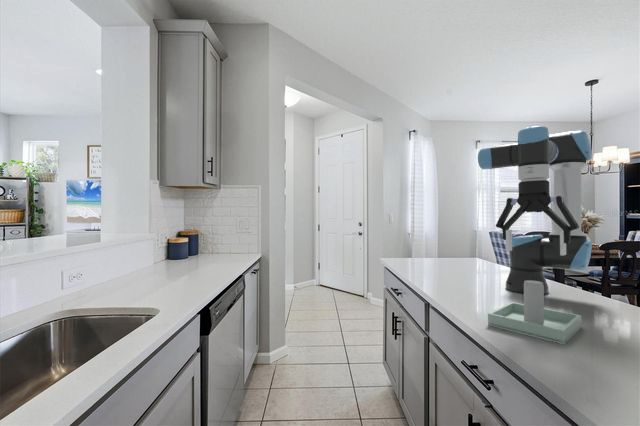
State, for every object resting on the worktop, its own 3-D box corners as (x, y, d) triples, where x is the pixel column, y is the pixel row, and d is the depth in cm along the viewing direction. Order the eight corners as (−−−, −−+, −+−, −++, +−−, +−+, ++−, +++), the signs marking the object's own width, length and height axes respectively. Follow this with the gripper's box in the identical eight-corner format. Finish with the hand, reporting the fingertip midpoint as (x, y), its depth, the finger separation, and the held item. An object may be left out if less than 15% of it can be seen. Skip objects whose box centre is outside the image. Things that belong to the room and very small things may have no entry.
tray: (511, 312, 103) (511, 302, 103) (581, 327, 89) (581, 315, 89) (488, 325, 92) (487, 313, 92) (564, 344, 78) (563, 330, 78)
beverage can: (547, 326, 88) (547, 284, 88) (528, 325, 89) (528, 283, 89) (539, 321, 92) (538, 280, 92) (521, 320, 93) (520, 279, 93)
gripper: (483, 183, 99) (484, 250, 99) (585, 175, 80) (586, 258, 80) (493, 184, 104) (494, 248, 104) (591, 177, 84) (592, 255, 85)
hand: (534, 252), depth 92 cm, fingers open, 13 cm apart
